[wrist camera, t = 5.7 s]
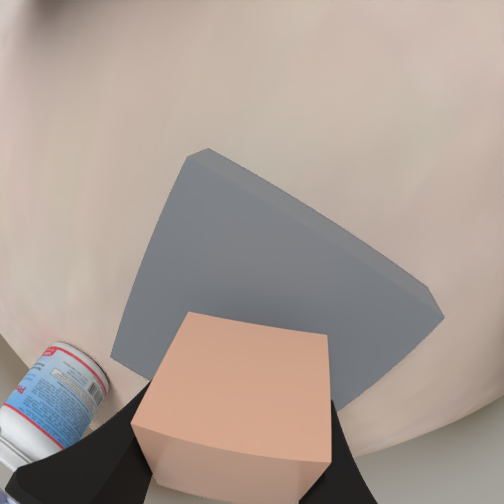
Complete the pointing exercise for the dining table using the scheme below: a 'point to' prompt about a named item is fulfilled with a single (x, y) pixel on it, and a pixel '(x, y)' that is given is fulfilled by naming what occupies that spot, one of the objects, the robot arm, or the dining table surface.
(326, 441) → the terracotta cube
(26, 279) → the dining table surface
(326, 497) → the robot arm
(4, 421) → the pill bottle
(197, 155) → the gray block
